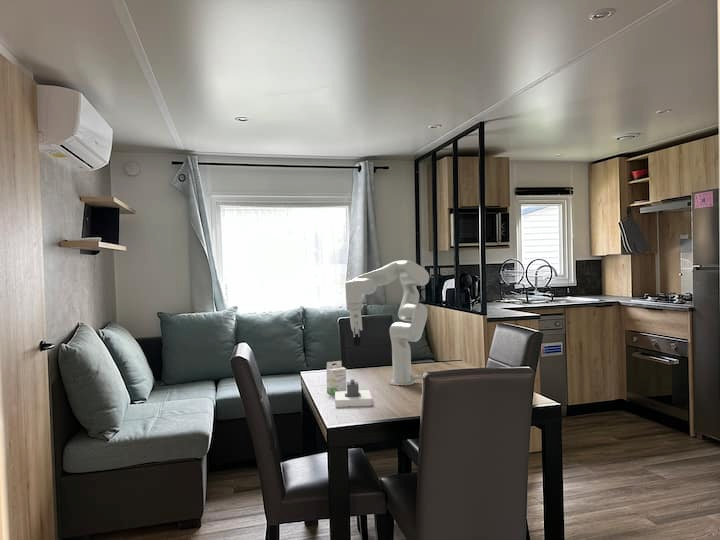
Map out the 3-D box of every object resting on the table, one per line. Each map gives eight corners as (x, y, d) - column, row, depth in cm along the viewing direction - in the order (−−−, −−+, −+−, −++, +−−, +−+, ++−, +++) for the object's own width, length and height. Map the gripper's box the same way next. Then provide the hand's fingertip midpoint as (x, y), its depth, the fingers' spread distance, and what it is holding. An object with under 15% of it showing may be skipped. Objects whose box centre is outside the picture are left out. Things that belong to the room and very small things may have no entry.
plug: (358, 399, 233) (357, 378, 233) (358, 402, 228) (358, 380, 228) (347, 399, 233) (346, 378, 233) (347, 402, 228) (347, 381, 228)
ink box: (330, 394, 245) (329, 363, 245) (326, 392, 249) (325, 362, 249) (347, 392, 249) (346, 361, 249) (342, 390, 253) (341, 360, 253)
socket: (369, 396, 239) (369, 389, 239) (372, 405, 223) (371, 398, 223) (335, 397, 238) (334, 391, 238) (335, 407, 222) (335, 400, 222)
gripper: (363, 307, 233) (366, 347, 234) (361, 304, 248) (363, 341, 249) (347, 308, 233) (349, 348, 233) (345, 305, 247) (348, 343, 248)
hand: (356, 345), depth 241 cm, fingers closed
